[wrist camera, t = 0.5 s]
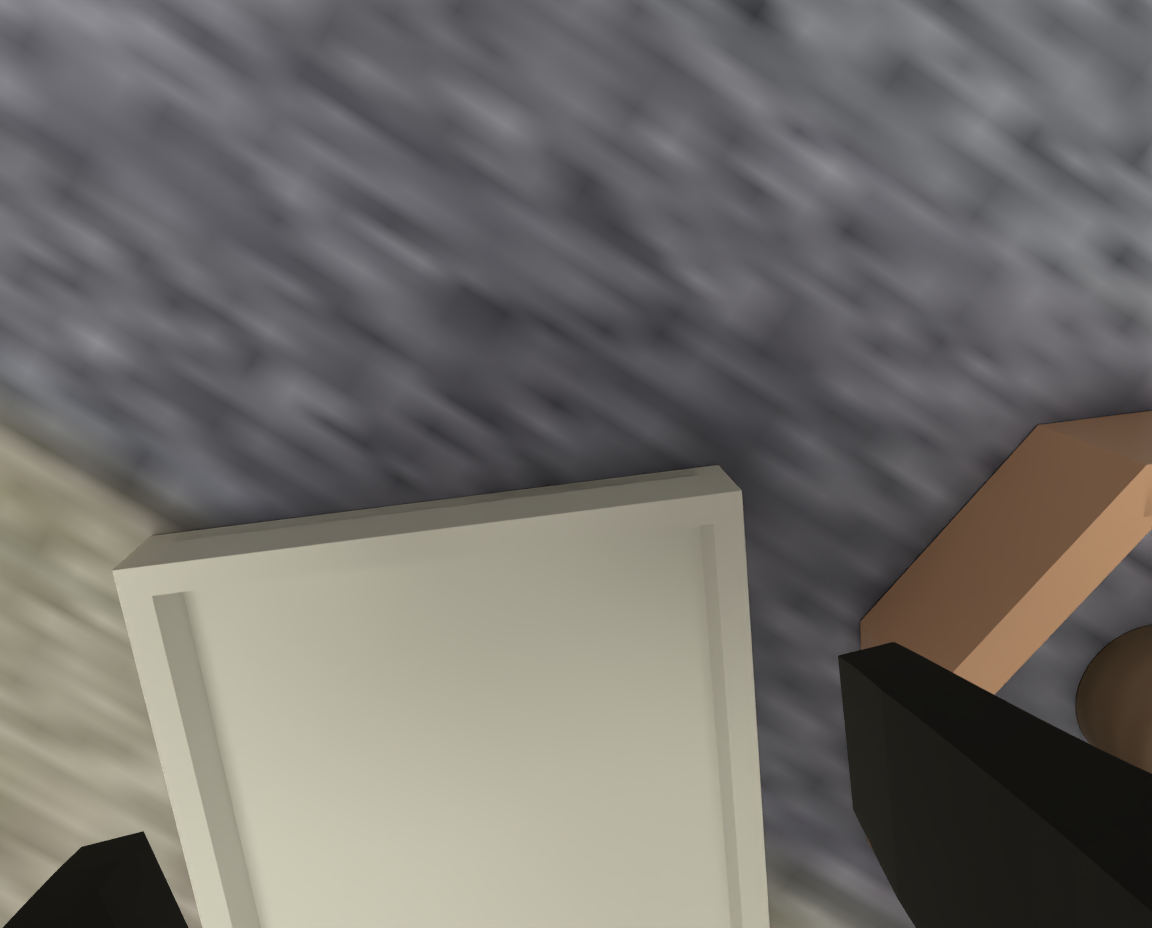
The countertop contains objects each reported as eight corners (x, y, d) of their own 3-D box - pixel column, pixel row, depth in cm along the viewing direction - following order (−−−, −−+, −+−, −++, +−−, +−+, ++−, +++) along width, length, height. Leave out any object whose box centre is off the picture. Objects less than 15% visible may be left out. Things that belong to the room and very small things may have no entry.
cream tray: (764, 1118, 24) (786, 1194, 22) (308, 1191, 24) (291, 1277, 22) (718, 464, 20) (741, 490, 18) (151, 536, 19) (111, 570, 17)
